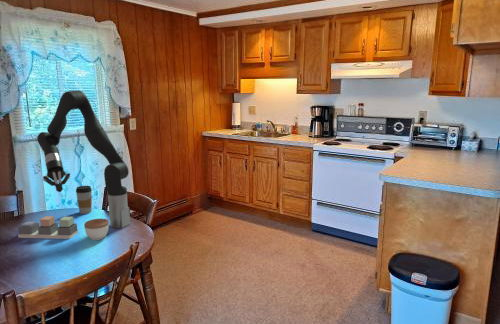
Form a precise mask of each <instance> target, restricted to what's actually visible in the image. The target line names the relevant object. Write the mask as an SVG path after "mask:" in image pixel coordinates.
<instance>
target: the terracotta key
mask: <svg viewBox="0 0 500 324" xmlns="http://www.w3.org/2000/svg"><path fill="white" fill-rule="evenodd" d="M55 220H56V219H55V216H54V215H53V216H50V215H45V216H43V217H41V218H40V219H39V226H48V227H50V226H51V225H53V224H54V223H56V221H55Z"/></svg>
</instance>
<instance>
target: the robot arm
mask: <svg viewBox="0 0 500 324" xmlns="http://www.w3.org/2000/svg"><path fill="white" fill-rule="evenodd" d="M73 110H78V111H80V112H81V115H82V117H83V120H84V126H83V128H84V129H83V131H84V136H85V137H86V139H87V140H88V142H89V143H90V145H91V147H92V148H93V149H95V150H96V151H97V152H98V153H99V154H101V155H102V156H103V157H104V158H105V159H106V160H107V162H108V163H109V164H107V165H106V166H105V168H104V170H103V171H104V172H103V176H104V177H103V178H104V185H105V189H106V191H107V200H108V201H107V202H108V213H109V214H108V215H109V227H110V228H112V229H120V228H121V229H123V228H125V227H127V226H129V225H131V214H130V213H131V212H130V207H129V206H128V192H127V191H128V189H127V187H126V186H123V185H122V180H123V179H124V180H125V179H126V178H127V177H128V176H129V168H128V166H127V163H126V162H125V161H124V160H123V157H121V156H120V154H119V153H118V151H117V150H116V148H115V147H114V144H113V143H112V142H111V139H110V138H109V135H108V134H107V132H106V130H105V129H104V127H103V125H101V123H100V121H99V119H98V117H97V115H96V113H95V111H94V109H93V107H92V105H91V102H90V100H89V98H88V96H87V95H86V93H85V92H84V91H82V90H70V91H64V92H63V93H62V95H61V97H60V100H59V102H58V105H57V108H56V111H55V114H54V116H53V118H52V120H51V121H50V123H49V125H48V126H47V129H46V130H47V132H46V131H45V132H44V131H42V132H39V133H38V135H37V143H38V145H39V146H40V148H41V150H42V152H43V154H44V162H45V164H44V165H45V167H46V168H45V169H46V171H47V173H46V175H43V177H42V180H43V182H45V183H47V184H48V185H49V186H52V187H53V186H54V187H55V190H56V192H58V193H61V192H62V191H63V185H65V184H66V183H67V182H68V180H69V179H70V177H71V173H67V172H66V171H65V170H64V165H63V162H62V161H63V160H62V157H61V155H60V154H61V153H60V150H59V148H58V146H59V144H60V143H61V142H60V139H61V135H62V133H63V131H64V130H65V128H66V127H67V124H68V122H67V121H68V119H67V115H68V114H69V113H70V112H71V111H73Z"/></svg>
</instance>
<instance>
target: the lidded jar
mask: <svg viewBox="0 0 500 324" xmlns="http://www.w3.org/2000/svg"><path fill="white" fill-rule="evenodd" d="M109 227H110V220H109V219H106V218H94V219H89V220H87V221H86V222H84V230H85V234H86V236H87V237H88V238H90V240H91V241H100V240H102V239H104V238H105V237H106V235H107V234H108V232H109Z"/></svg>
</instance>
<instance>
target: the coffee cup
mask: <svg viewBox="0 0 500 324" xmlns="http://www.w3.org/2000/svg"><path fill="white" fill-rule="evenodd" d="M92 191H93V190H92V187H91V186H90V185H80V186H77V187H76V189H75V194H76V200H77V206H78V207H77V208H78V211H79V213H80V214H82V215H85V214H90V213H91V212H92V211H93V210H92V208H93V207H92V204H93V203H92V201H93V200H92V199H93V197H92Z"/></svg>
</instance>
